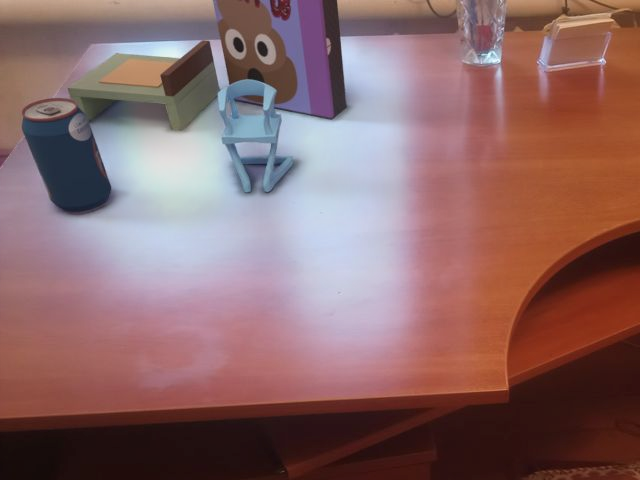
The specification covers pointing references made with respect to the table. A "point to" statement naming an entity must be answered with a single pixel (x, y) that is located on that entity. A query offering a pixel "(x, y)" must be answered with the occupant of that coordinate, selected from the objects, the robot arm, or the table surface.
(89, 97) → the shelf
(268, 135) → the chair
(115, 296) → the table surface
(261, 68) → the cereal box
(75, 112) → the soda can
